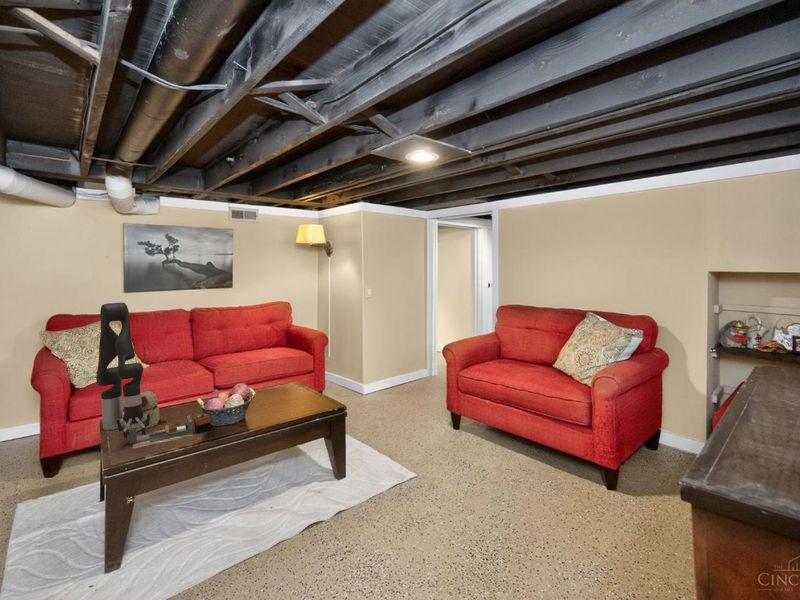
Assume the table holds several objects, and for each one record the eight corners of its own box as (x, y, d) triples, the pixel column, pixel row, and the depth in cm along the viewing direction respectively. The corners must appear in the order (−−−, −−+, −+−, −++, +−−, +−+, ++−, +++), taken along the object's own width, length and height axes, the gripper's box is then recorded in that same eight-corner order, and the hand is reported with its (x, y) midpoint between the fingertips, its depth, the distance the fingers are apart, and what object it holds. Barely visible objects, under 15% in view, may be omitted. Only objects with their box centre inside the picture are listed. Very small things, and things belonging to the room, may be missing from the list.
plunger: (129, 441, 200) (128, 428, 199) (168, 433, 209) (168, 421, 209) (129, 444, 196) (128, 432, 195) (169, 436, 205) (168, 424, 205)
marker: (176, 432, 211) (176, 427, 211) (185, 430, 213) (185, 425, 213) (177, 435, 208) (177, 429, 207) (186, 433, 210) (185, 428, 210)
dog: (133, 421, 230) (131, 387, 228) (170, 417, 236) (169, 384, 235) (122, 437, 208) (120, 400, 206) (163, 432, 215) (161, 396, 213)
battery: (194, 433, 212) (193, 415, 211) (207, 430, 217) (206, 412, 217) (198, 436, 209) (197, 417, 209) (211, 432, 215) (210, 414, 214)
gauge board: (133, 440, 205) (132, 424, 204) (190, 428, 219) (189, 414, 218) (133, 450, 193) (132, 434, 192) (193, 437, 207) (192, 422, 207)
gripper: (149, 398, 204) (151, 430, 206) (115, 404, 197) (117, 437, 198) (150, 402, 198) (152, 435, 200) (114, 408, 190) (116, 442, 192)
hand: (134, 436), depth 199 cm, fingers open, 6 cm apart
